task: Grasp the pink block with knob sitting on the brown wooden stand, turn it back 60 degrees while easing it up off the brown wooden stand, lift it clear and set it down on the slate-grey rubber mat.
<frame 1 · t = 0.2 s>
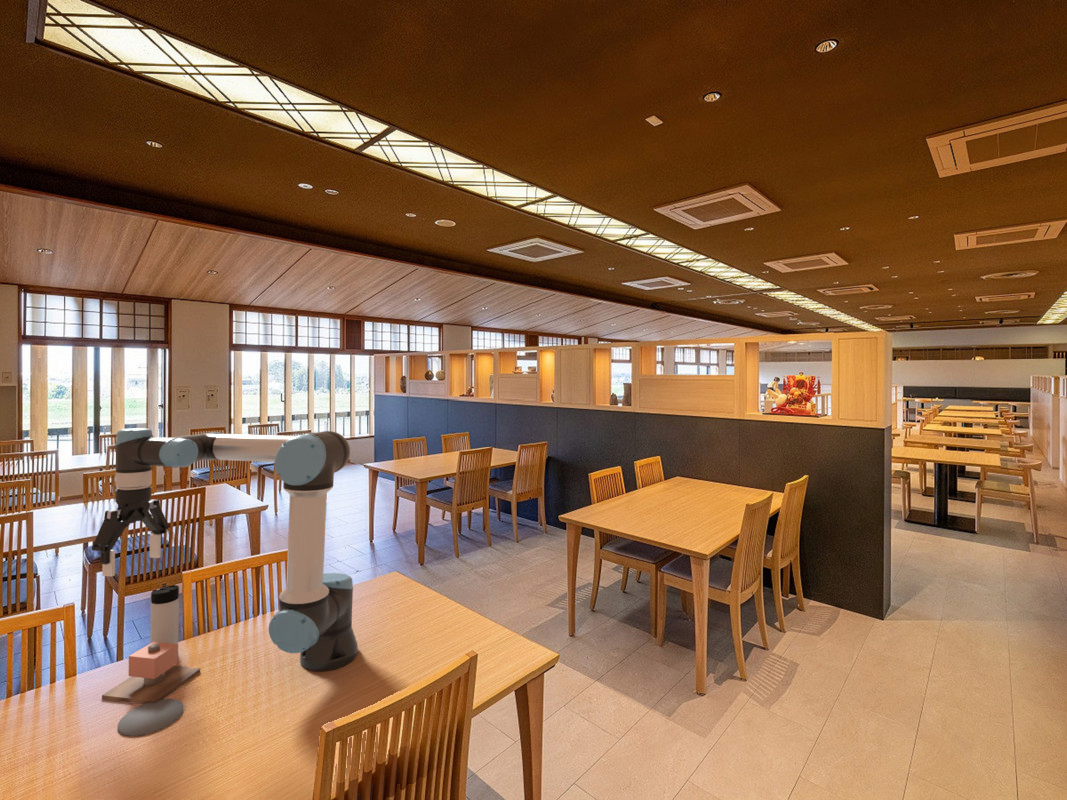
hand: (132, 566, 134), 27 cm above the table, fingers open, 13 cm apart
mat: (151, 717, 115), on the table
travel mug: (164, 659, 139), on the table
pink block with knob: (153, 669, 127), point 4 cm above the table, touching brown wooden stand
brown wooden stand: (153, 685, 127), on the table
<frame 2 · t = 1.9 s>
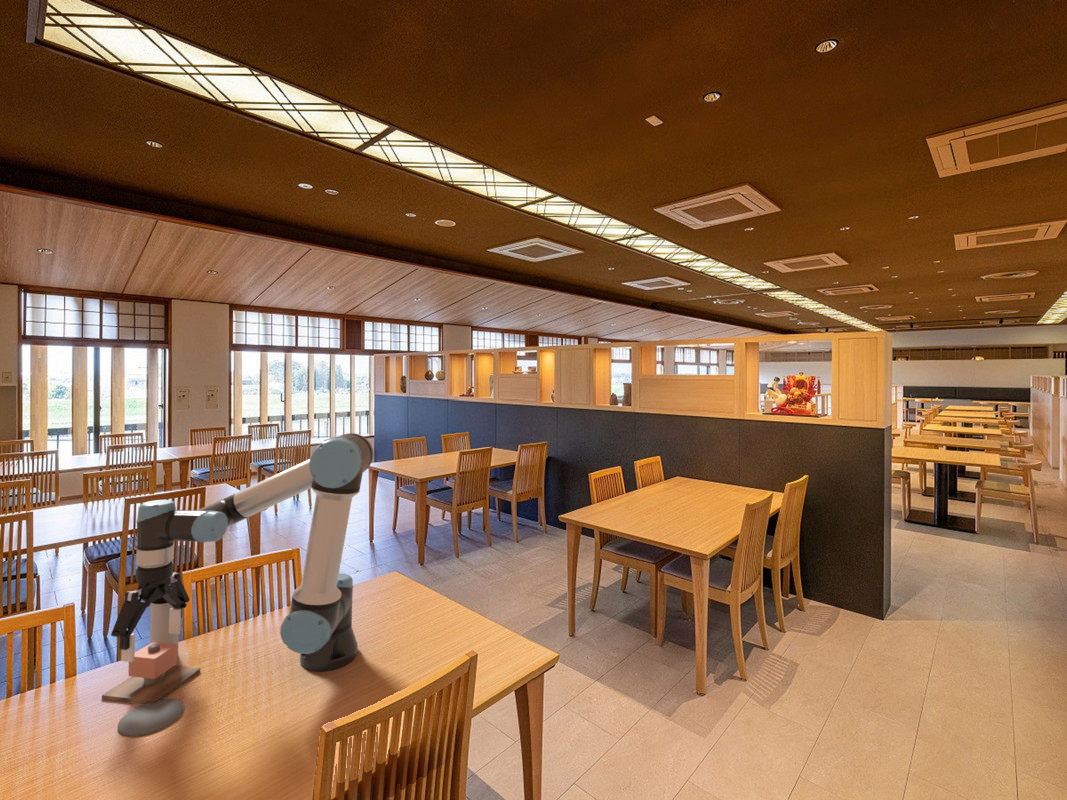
hand: (152, 646, 127), 10 cm above the table, fingers open, 13 cm apart
nothing on the table moved.
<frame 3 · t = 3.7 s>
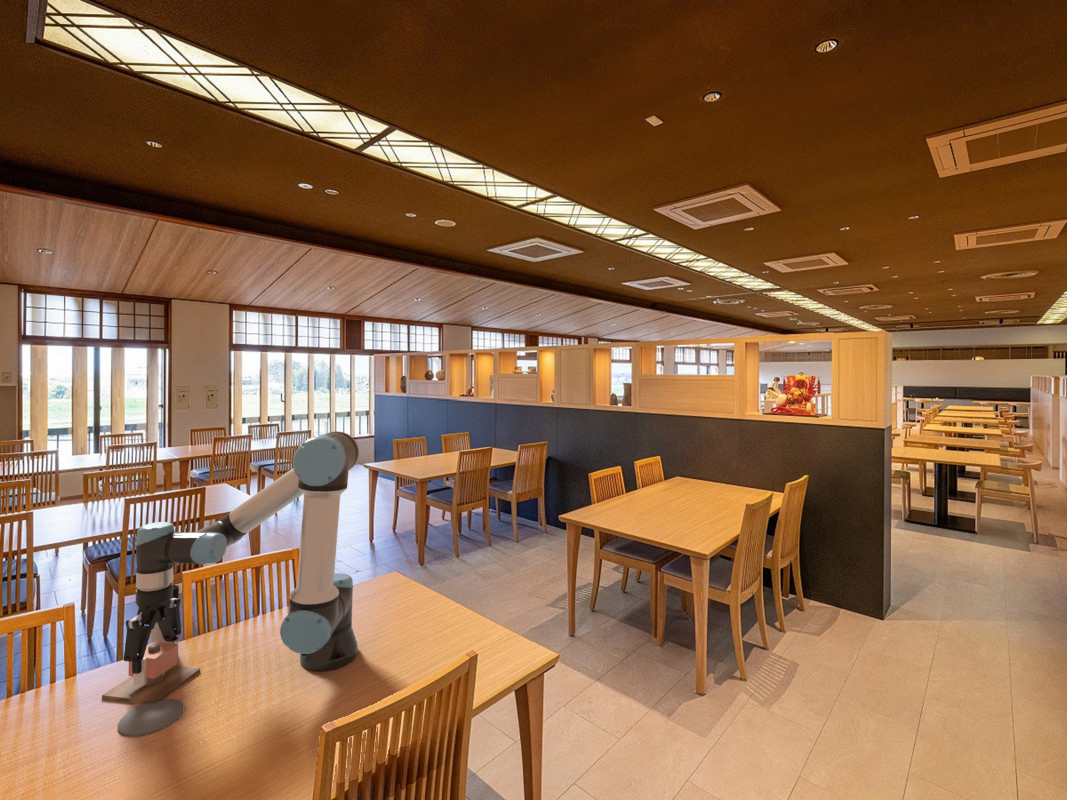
hand: (153, 675, 127), 3 cm above the table, fingers closed on pink block with knob, 7 cm apart
pink block with knob: (153, 669, 127), point 4 cm above the table, touching gripper, brown wooden stand
everything else where it was.
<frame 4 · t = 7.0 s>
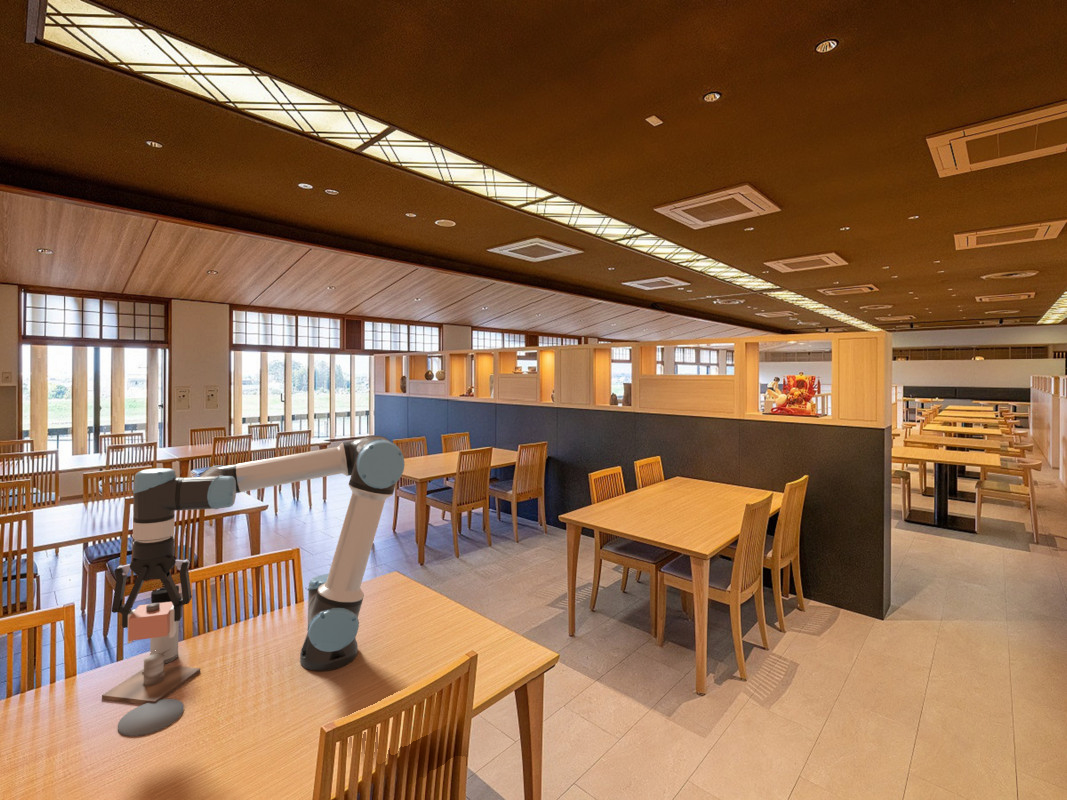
hand: (152, 637, 114), 19 cm above the table, fingers closed on pink block with knob, 7 cm apart
pink block with knob: (152, 631, 114), point 20 cm above the table, touching gripper
everything else where it was.
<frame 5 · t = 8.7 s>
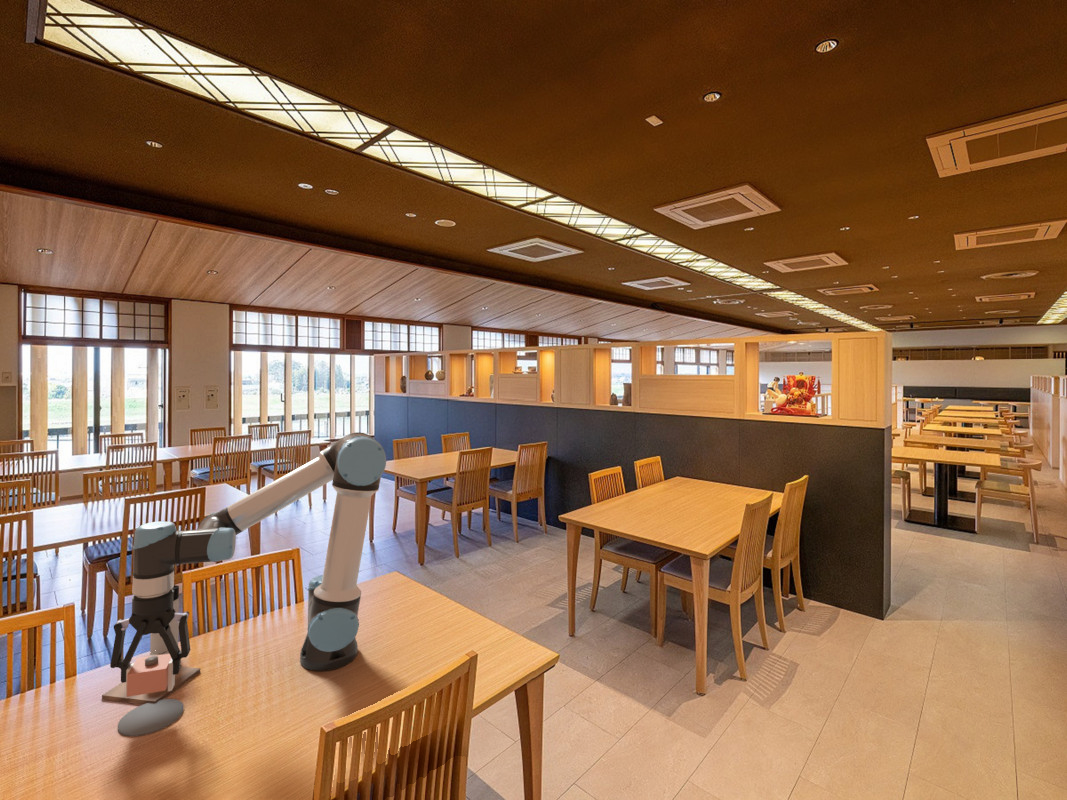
hand: (150, 691, 115), 6 cm above the table, fingers closed on pink block with knob, 7 cm apart
pink block with knob: (151, 684, 115), point 8 cm above the table, touching gripper
everything else where it was.
when the fingers open (1 cm above the table, at t = 10.4 s): pink block with knob drops 2 cm, resting on mat.
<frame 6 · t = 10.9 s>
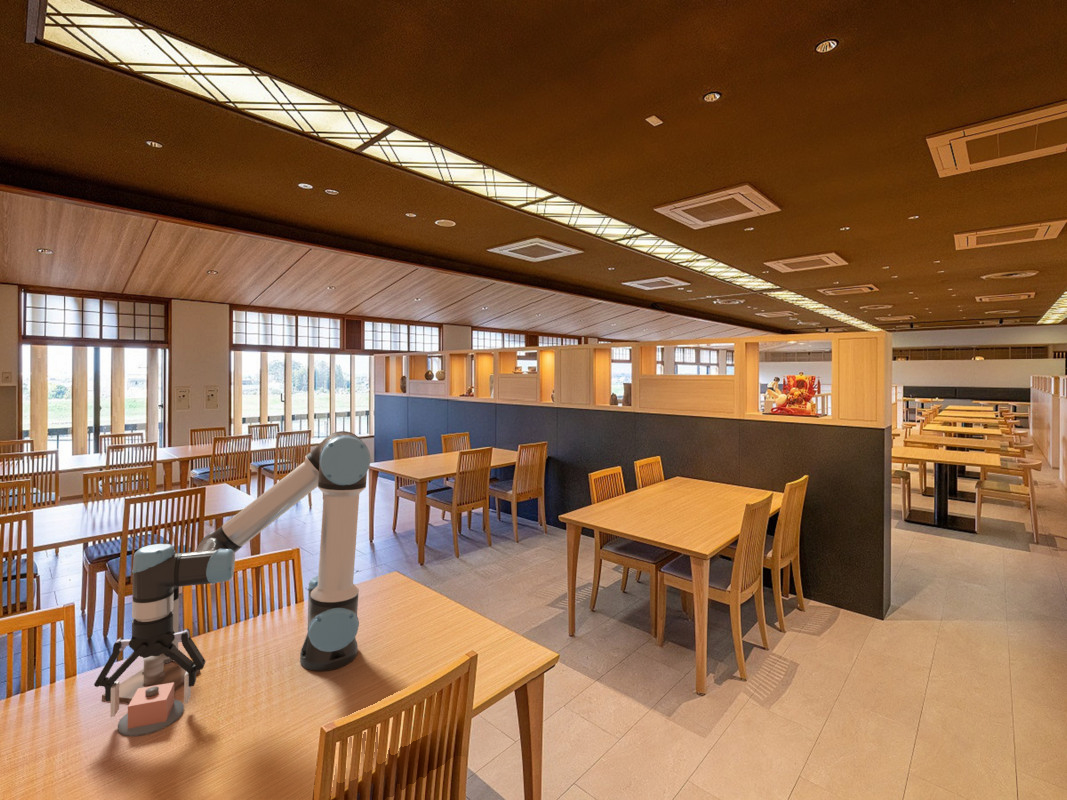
hand: (151, 706, 115), 3 cm above the table, fingers open, 13 cm apart
pink block with knob: (151, 715, 115), point 1 cm above the table, touching mat
everything else where it was.
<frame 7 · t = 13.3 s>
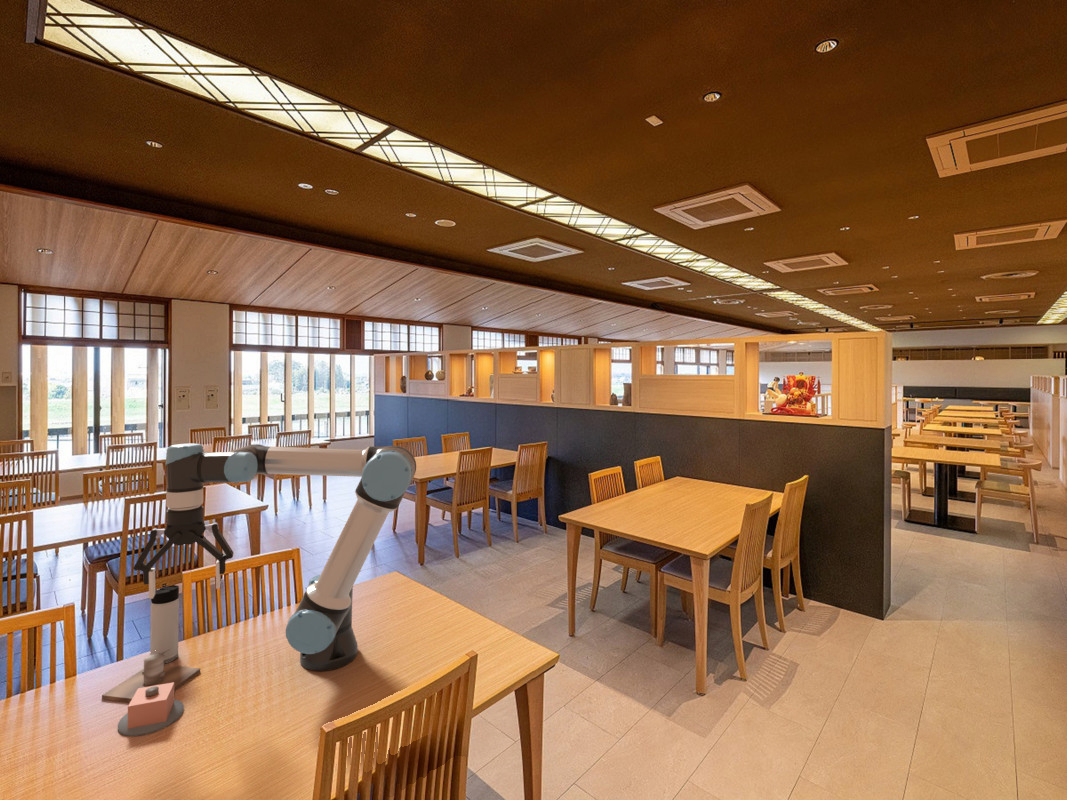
hand: (186, 591, 125), 25 cm above the table, fingers open, 13 cm apart
nothing on the table moved.
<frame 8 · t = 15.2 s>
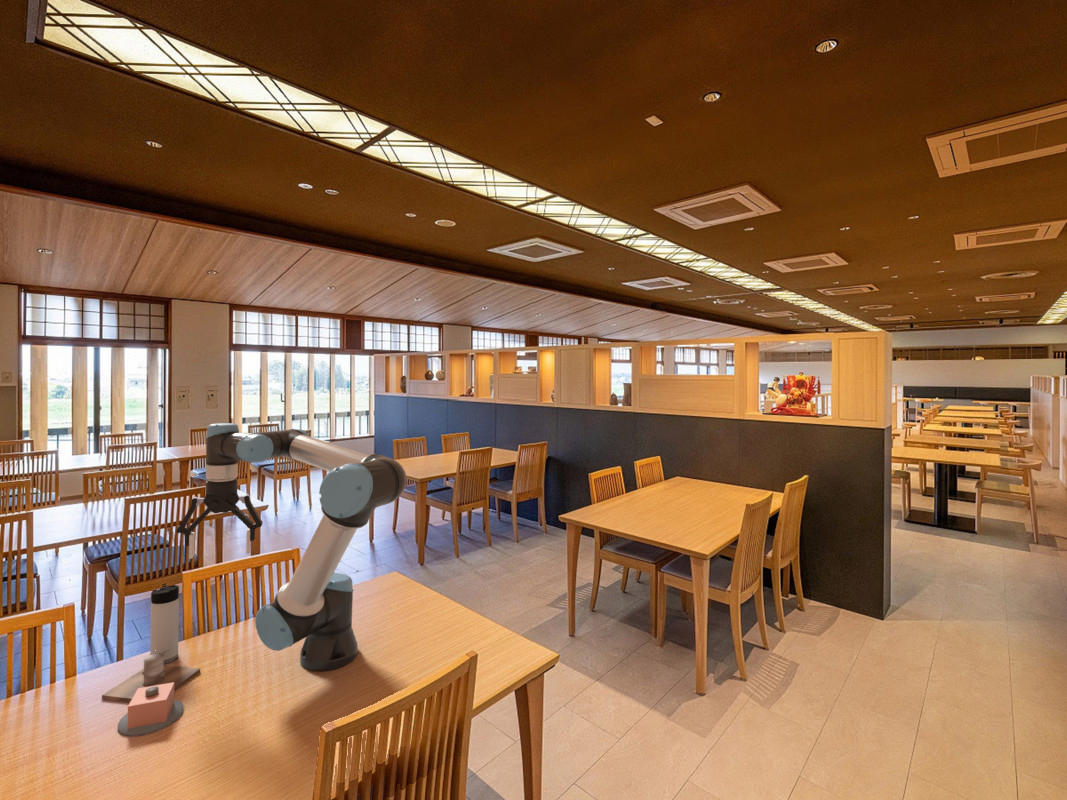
hand: (220, 554, 140), 29 cm above the table, fingers open, 13 cm apart
nothing on the table moved.
at the end: pink block with knob 0.0 cm from the mat (horizontally); pink block with knob point 0.6 cm above the table; pink block with knob tilted 0° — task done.
